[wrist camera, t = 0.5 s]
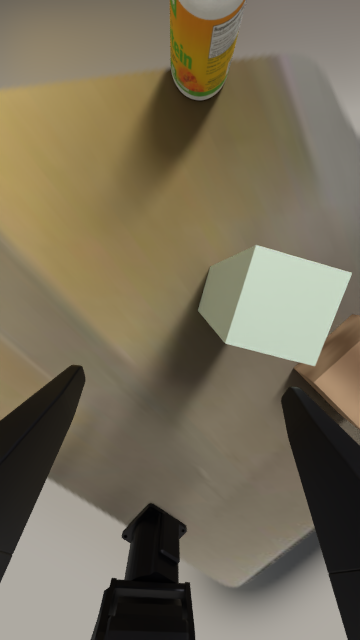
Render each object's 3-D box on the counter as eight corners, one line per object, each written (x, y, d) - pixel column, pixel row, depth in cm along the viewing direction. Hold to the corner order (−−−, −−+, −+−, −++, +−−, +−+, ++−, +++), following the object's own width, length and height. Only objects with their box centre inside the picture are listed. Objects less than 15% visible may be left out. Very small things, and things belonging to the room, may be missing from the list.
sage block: (239, 321, 24) (315, 366, 11) (197, 310, 23) (225, 343, 11) (253, 278, 23) (351, 273, 10) (210, 266, 23) (256, 244, 10)
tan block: (337, 412, 27) (366, 435, 23) (292, 366, 25) (313, 382, 21) (394, 363, 26) (434, 378, 22) (349, 314, 24) (383, 319, 20)
